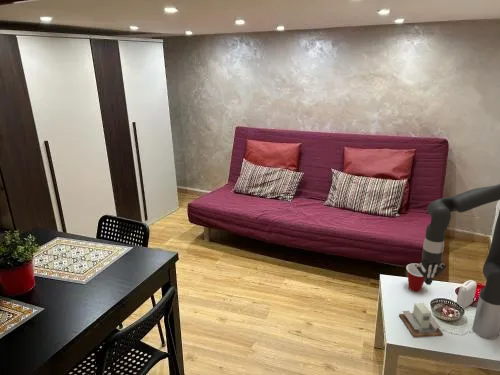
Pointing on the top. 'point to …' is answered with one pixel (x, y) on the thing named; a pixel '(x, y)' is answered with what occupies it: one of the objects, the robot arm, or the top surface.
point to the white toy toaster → (466, 293)
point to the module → (422, 315)
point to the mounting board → (414, 332)
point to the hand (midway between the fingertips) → (427, 283)
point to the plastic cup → (415, 277)
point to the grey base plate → (431, 329)
